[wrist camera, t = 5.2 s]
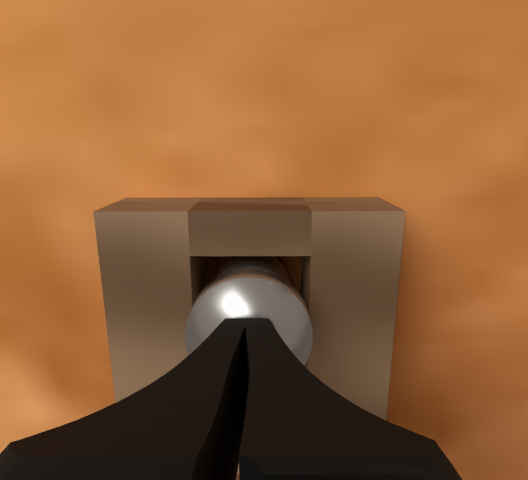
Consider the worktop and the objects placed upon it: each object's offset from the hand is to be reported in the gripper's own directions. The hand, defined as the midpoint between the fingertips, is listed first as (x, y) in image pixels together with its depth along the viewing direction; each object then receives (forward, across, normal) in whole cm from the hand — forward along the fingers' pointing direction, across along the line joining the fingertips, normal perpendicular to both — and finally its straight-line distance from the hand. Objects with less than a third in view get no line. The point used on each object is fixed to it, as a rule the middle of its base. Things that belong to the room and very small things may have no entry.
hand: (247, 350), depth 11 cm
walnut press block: (+5, 0, +6) cm, 8 cm away
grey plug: (+5, 0, 0) cm, 5 cm away
